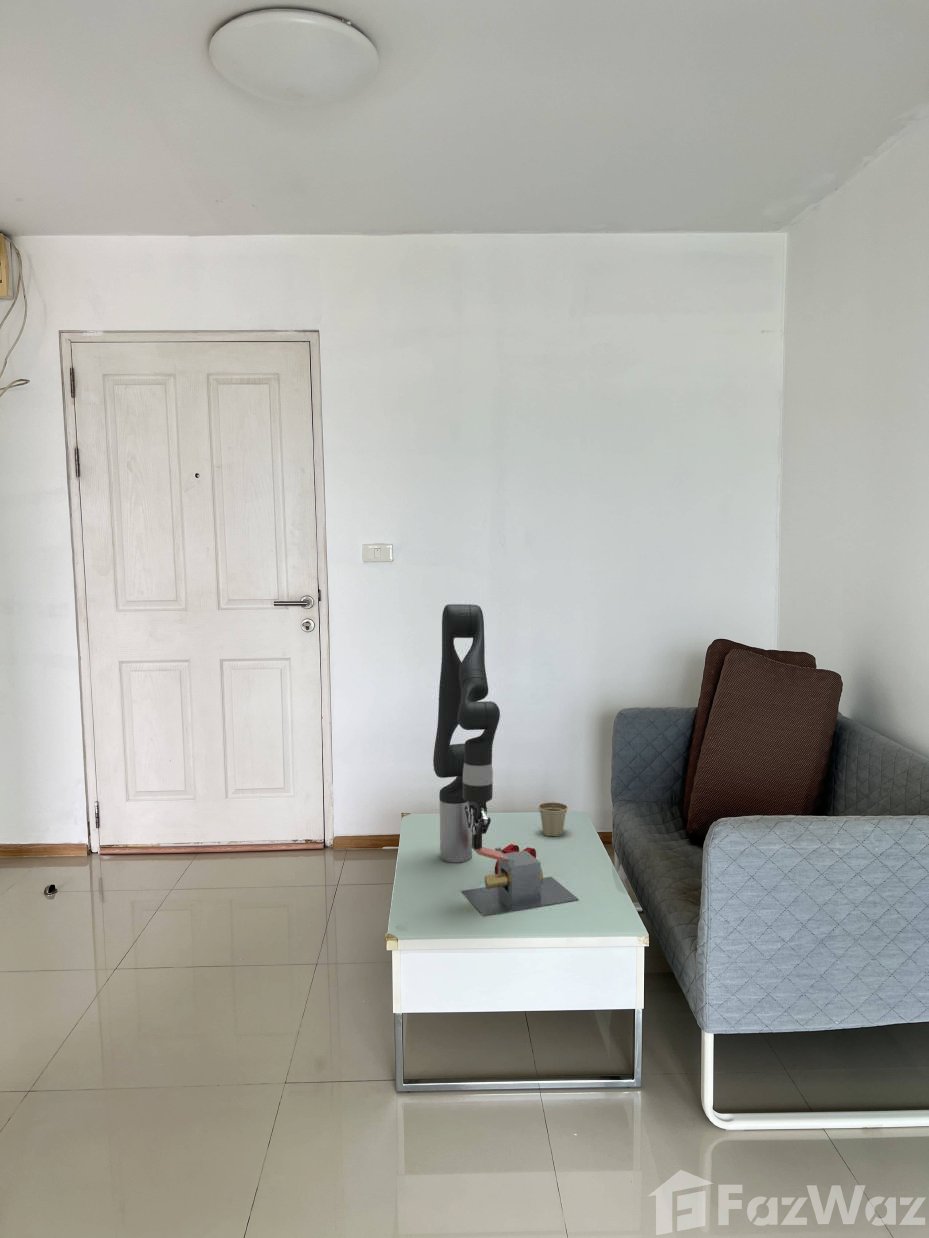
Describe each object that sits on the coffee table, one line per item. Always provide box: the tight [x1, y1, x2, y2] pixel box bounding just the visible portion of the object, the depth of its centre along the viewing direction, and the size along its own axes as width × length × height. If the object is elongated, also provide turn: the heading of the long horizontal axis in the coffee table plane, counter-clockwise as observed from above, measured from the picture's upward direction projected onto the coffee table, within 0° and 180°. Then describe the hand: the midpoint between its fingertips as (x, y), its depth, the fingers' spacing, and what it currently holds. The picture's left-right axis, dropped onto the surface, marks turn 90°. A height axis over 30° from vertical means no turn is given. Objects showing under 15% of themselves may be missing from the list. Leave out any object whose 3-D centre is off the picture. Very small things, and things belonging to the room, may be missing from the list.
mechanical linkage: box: [494, 843, 537, 875], centre depth 242 cm, size 16×7×5 cm, turn 149°
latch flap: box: [471, 844, 509, 862], centre depth 220 cm, size 7×9×1 cm
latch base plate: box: [461, 847, 580, 917], centre depth 224 cm, size 16×26×12 cm, turn 110°
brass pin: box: [484, 868, 544, 889], centre depth 223 cm, size 6×14×6 cm, turn 110°
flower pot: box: [537, 801, 569, 837], centre depth 271 cm, size 9×9×9 cm
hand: (476, 847), depth 219 cm, fingers closed
